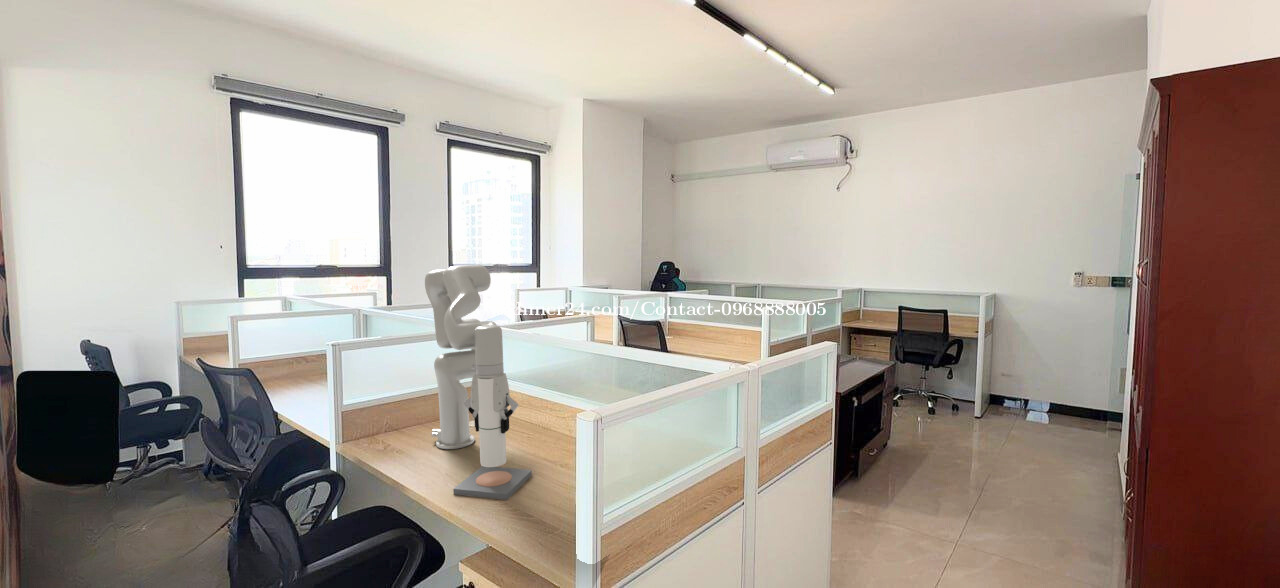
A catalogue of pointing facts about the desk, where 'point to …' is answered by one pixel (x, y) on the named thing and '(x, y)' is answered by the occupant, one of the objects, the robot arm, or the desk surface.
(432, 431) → the robot arm
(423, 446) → the desk surface
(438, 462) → the desk surface
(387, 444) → the desk surface
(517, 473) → the board
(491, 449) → the cylindrical container
